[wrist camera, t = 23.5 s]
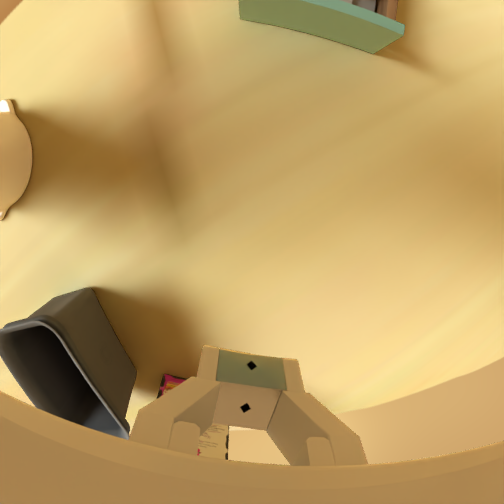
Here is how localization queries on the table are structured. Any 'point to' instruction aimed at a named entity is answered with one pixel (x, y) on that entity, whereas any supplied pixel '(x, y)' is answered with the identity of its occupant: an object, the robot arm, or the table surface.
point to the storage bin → (72, 363)
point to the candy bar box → (214, 437)
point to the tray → (328, 20)
